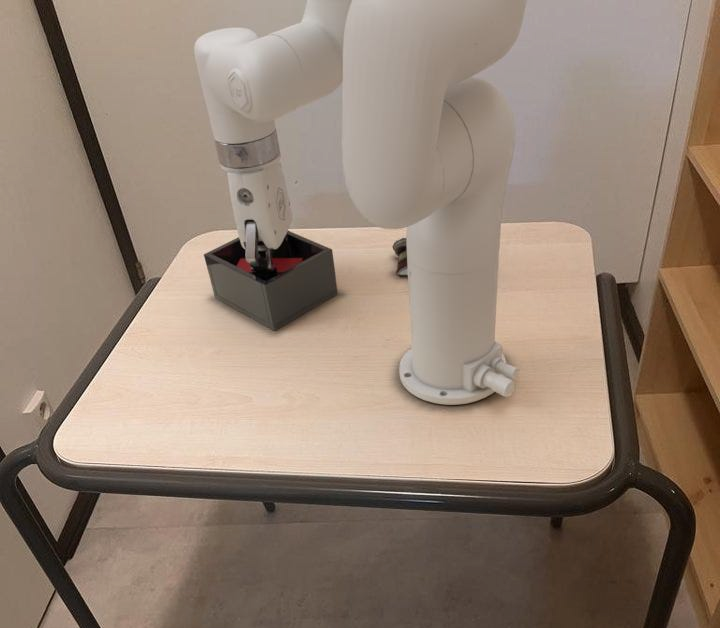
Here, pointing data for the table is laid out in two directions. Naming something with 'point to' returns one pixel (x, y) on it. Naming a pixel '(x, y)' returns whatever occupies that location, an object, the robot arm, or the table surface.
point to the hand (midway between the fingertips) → (275, 281)
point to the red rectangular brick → (280, 263)
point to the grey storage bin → (273, 282)
